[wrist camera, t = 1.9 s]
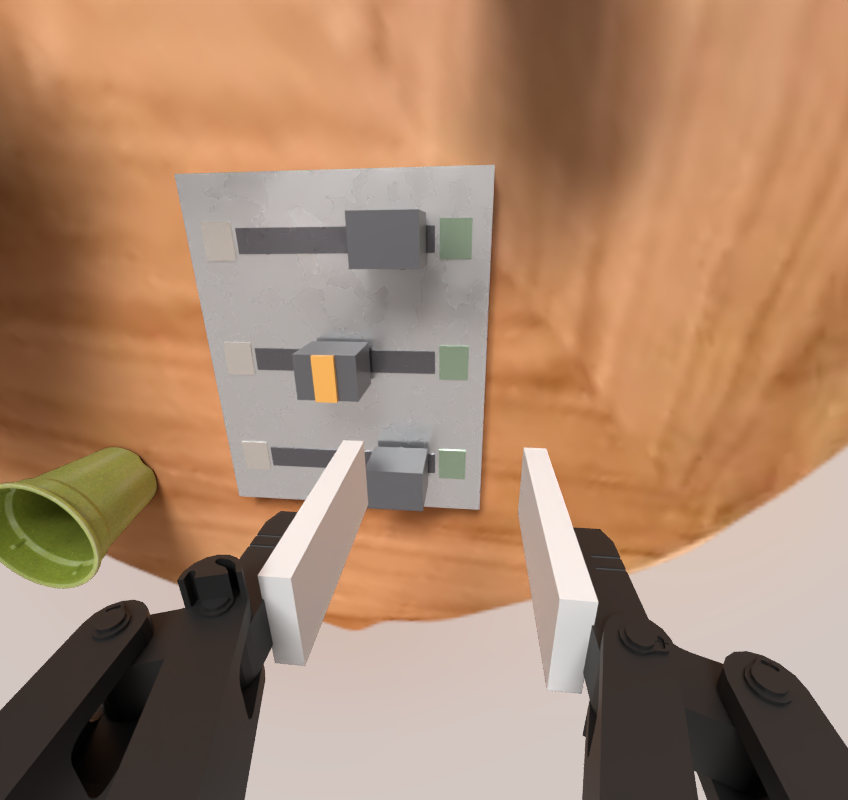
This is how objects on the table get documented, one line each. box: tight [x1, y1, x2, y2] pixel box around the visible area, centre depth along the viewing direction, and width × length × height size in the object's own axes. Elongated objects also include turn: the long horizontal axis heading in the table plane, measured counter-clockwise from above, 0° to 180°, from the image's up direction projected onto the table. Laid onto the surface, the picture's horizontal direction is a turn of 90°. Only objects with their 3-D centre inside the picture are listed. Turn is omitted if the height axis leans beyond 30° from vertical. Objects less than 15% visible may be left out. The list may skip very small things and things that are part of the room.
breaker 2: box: [345, 209, 426, 269], centre depth 24 cm, size 4×3×4 cm
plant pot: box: [0, 447, 157, 589], centre depth 34 cm, size 9×9×9 cm
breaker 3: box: [366, 447, 428, 511], centre depth 30 cm, size 4×3×4 cm
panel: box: [174, 165, 495, 510], centre depth 31 cm, size 20×24×2 cm
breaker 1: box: [292, 341, 371, 403], centre depth 28 cm, size 4×3×4 cm
